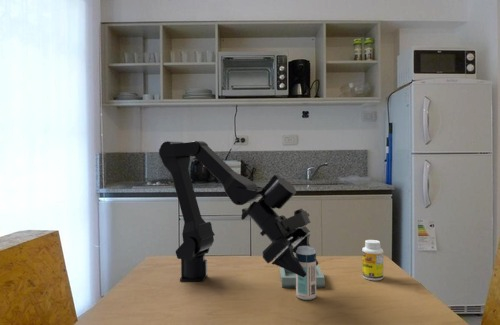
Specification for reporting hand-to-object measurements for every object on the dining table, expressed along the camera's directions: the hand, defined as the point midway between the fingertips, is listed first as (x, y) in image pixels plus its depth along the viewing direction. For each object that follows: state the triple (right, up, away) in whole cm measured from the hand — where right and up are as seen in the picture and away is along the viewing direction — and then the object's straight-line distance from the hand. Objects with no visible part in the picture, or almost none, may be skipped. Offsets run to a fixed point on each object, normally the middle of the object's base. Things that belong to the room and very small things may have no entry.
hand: (311, 270), depth 88 cm
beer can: (-1, -7, +1) cm, 7 cm away
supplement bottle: (+19, -6, +14) cm, 25 cm away
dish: (-1, -6, +13) cm, 14 cm away
